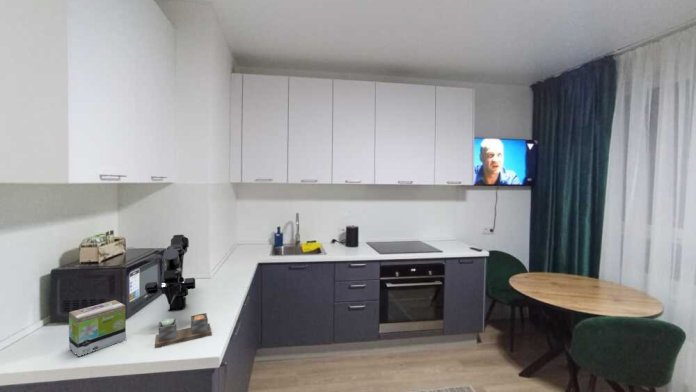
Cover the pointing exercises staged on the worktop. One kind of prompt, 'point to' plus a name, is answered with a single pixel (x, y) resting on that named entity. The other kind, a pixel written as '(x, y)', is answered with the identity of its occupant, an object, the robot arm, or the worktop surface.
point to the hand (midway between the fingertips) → (169, 304)
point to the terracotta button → (199, 317)
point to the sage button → (167, 322)
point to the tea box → (96, 327)
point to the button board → (182, 332)
